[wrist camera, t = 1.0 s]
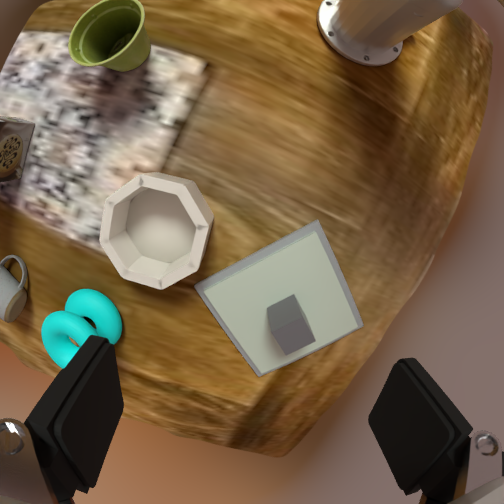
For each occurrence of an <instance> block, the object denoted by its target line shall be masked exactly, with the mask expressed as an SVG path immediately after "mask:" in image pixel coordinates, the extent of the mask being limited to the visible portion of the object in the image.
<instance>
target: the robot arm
mask: <svg viewBox="0 0 504 504" xmlns="http://www.w3.org/2000/svg"><path fill="white" fill-rule="evenodd" d="M498 1H499V2H500V3H501V5H502V6H503V7H504V0H498ZM462 2H463V0H324V1H323V2H322V3H321V5H320V7H319V9H318V12H317V22H318V27H319V29H320V32H321V34H322V35H323V37H324V38H325V40H326V41H327V42H328V43H329V44H330V46H331V47H332V48H334V49H335V50H336V51H337V52H338V53H340V54H341V55H343V56H344V57H345V58H347V59H349V60H351V61H353V62H356V63H359V64H362V65H367V66H381V65H385V64H388V63H390V62H391V61H393V60H395V59H396V58H397V57H398V55H399V54H400V52H401V50H402V45H403V40H404V39H406V38H408V37H409V36H411V35H412V34H414V33H415V32H417V31H419V30H420V29H422V28H423V27H425V26H427V25H428V24H430V23H432V22H433V21H435V20H437V19H439V18H440V17H442V16H444V15H445V14H447V13H449V12H450V11H452V10H454V9H456V8H457V7H458V6H459V5H460V4H461V3H462ZM329 35H330V36H329ZM364 59H365V60H364ZM123 408H124V402H123V397H122V392H121V387H120V381H119V375H118V369H117V363H116V356H115V349H114V345H113V344H111V343H110V342H109V340H108V338H104V337H100V336H96V335H90V336H89V337H88V338H87V340H86V341H85V342H84V343H83V345H82V346H81V347H80V349H79V350H78V351H77V352H76V354H75V355H74V356H73V358H72V359H71V360H70V362H69V363H68V364H67V366H66V367H65V368H63V369H62V370H61V371H60V372H59V374H58V375H57V376H56V378H55V379H54V381H53V382H52V383H51V385H50V386H49V388H48V389H47V390H46V391H45V393H44V394H43V396H42V397H41V399H40V400H39V402H38V403H37V404H36V406H35V407H34V409H33V410H32V412H31V413H30V415H29V416H28V418H27V419H26V421H25V422H24V424H23V423H21V422H20V421H18V420H15V419H12V418H4V419H0V504H75V502H74V500H73V499H72V497H73V496H74V493H75V490H79V491H81V492H84V493H86V494H87V493H88V490H89V487H91V488H94V487H95V485H96V482H97V480H98V477H99V474H100V471H101V468H102V465H103V462H104V459H105V457H106V454H107V451H108V449H109V446H110V443H111V441H112V438H113V435H114V433H115V430H116V427H117V425H118V423H119V419H120V417H121V415H122V412H123ZM368 421H369V425H370V427H371V429H372V431H373V433H374V435H375V437H376V439H377V441H378V444H379V446H380V448H381V450H382V452H383V454H384V456H385V458H386V460H387V462H388V464H389V467H390V469H391V471H392V473H393V475H394V477H395V479H396V482H397V484H398V486H399V487H400V489H401V490H404V493H405V495H406V496H407V495H409V494H412V493H415V492H418V491H419V490H420V489H421V490H422V492H423V493H422V496H421V499H420V502H419V504H504V452H502V447H501V443H500V441H499V439H498V438H497V437H496V436H495V435H494V434H492V433H491V432H488V431H483V430H482V431H477V432H476V433H474V434H473V436H472V437H471V438H470V437H469V436H468V435H469V434H470V433H471V431H472V430H473V428H472V426H471V425H470V424H469V423H468V421H467V420H466V419H465V418H464V416H463V415H462V414H461V413H460V411H459V410H458V409H457V408H456V406H455V405H454V404H453V403H452V401H451V400H450V399H449V398H448V396H447V395H446V394H445V393H444V392H443V390H442V389H441V388H440V387H439V386H438V385H437V383H436V382H435V381H434V380H433V378H432V377H431V376H430V375H429V374H428V372H426V370H425V369H424V368H423V367H422V365H421V364H420V363H419V362H418V361H417V360H416V359H415V358H405V359H400V360H398V361H397V363H395V364H394V366H393V368H392V370H391V372H390V374H389V376H388V379H387V381H386V383H385V385H384V387H383V389H382V391H381V393H380V395H379V397H378V399H377V401H376V403H375V405H374V407H373V409H372V411H371V413H370V414H369V419H368Z"/></svg>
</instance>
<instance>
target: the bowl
mask: <svg viewBox="0 0 504 504" xmlns="http://www.w3.org/2000/svg"><path fill="white" fill-rule="evenodd" d="M213 220H214V215H213V213H212V211H211V209H210V208H209V206H208V204H207V203H206V201H205V199H204V197H203V196H202V194H201V192H200V190H199V189H198V187H197V185H196V184H195V182H193V181H191V180H187V179H183V178H179V177H175V176H171V175H167V174H163V173H158V172H154V173H146V174H139V175H138V176H136V177H135V178H134V179H132V180H131V181H129V182H128V183H127V184H125V185H124V186H122V187H121V188H120V189H118V190H117V191H116V192H114V193H113V194H112V195H110V196H109V197H108V198H106V200H105V204H104V211H103V217H102V224H101V232H100V240H99V241H101V242H100V244H101V246H102V247H103V249H104V250H105V252H106V254H107V255H108V257H109V258H110V260H111V262H112V263H113V265H114V266H115V268H116V269H117V271H118V272H119V274H120V275H121V277H123V278H124V279H127V280H130V281H134V282H137V283H140V284H143V285H147V286H150V287H153V288H157V289H160V290H161V289H162V290H163V289H165V288H166V287H168V286H170V285H172V284H174V283H175V282H177V281H179V280H181V279H183V278H185V277H186V276H188V275H190V274H192V273H194V272H196V271H197V270H198V269H199V266H200V264H201V261H202V259H203V256H204V254H205V250H206V246H207V243H208V239H209V235H210V231H211V227H212V223H213Z"/></svg>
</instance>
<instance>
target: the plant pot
mask: <svg viewBox="0 0 504 504" xmlns="http://www.w3.org/2000/svg"><path fill="white" fill-rule="evenodd" d="M144 20H145V12H144V8H143V6H142V4H141V3H140V2H139V1H138V0H103V1H101V2H99V3H97V4H96V5H94V6H93V7H91V8H90V9H89V10H88V11H87V12H85V13H84V14H83V15H82V16H81V18H80V19H79V20H78V22H77V23H76V24H75V26H74V28H73V30H72V32H71V35H70V38H69V43H68V49H69V53H70V56H71V58H72V59H73V60H74V61H75V62H76V63H78V64H80V65H82V66H87V67H93V66H104V67H107V68H110V69H113V70H117V71H121V72H125V71H128V70H132V69H135V68H137V67H138V66H140V65H141V64H142V63H143V62H144V61H145V60H146V58H147V57H148V55H149V53H150V46H151V45H150V40H149V37H148V35H147V32H146V30H145V27H144ZM120 42H122V43H121V44H120V45H119V46H118V47H117V48H116V46H117V45H118V44H119V43H120ZM115 48H116V50H115Z"/></svg>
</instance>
